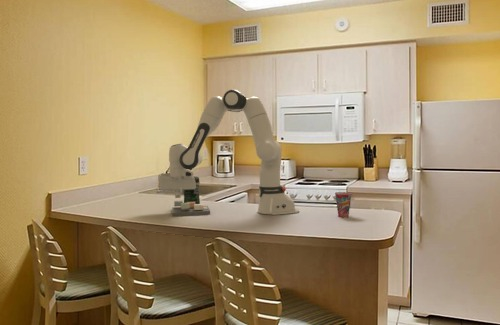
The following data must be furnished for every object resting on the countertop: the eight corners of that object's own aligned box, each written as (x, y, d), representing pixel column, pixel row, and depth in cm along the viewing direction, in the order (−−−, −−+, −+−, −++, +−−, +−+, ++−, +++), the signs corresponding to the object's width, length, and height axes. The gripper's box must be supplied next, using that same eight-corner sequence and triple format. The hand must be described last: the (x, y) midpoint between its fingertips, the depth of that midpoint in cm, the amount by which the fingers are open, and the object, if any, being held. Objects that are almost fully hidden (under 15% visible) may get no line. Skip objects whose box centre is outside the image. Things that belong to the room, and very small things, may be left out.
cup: (339, 218, 218) (339, 194, 218) (332, 215, 226) (331, 192, 226) (356, 217, 221) (356, 193, 220) (348, 214, 229) (348, 191, 228)
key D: (182, 204, 249) (182, 200, 249) (182, 206, 245) (182, 201, 245) (174, 205, 249) (174, 200, 249) (174, 206, 244) (174, 202, 244)
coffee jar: (192, 209, 254) (191, 177, 252) (181, 208, 258) (180, 177, 257) (202, 207, 262) (201, 176, 261) (192, 206, 266) (191, 175, 265)
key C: (195, 206, 251) (194, 201, 251) (195, 207, 246) (195, 202, 246) (187, 206, 250) (186, 202, 250) (187, 207, 246) (187, 203, 245)
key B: (189, 207, 241) (189, 202, 241) (189, 208, 237) (189, 203, 237) (181, 207, 240) (180, 202, 240) (181, 208, 236) (181, 204, 236)
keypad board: (207, 209, 254) (207, 205, 254) (210, 214, 237) (210, 210, 237) (172, 210, 251) (172, 206, 251) (172, 216, 233) (172, 212, 233)
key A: (202, 208, 243) (202, 203, 242) (202, 209, 238) (202, 205, 238) (194, 208, 242) (193, 204, 242) (194, 210, 237) (194, 205, 237)
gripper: (158, 174, 241) (158, 199, 242) (195, 173, 244) (196, 197, 245) (158, 173, 247) (159, 197, 248) (195, 172, 251) (195, 196, 252)
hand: (177, 197), depth 247 cm, fingers closed
